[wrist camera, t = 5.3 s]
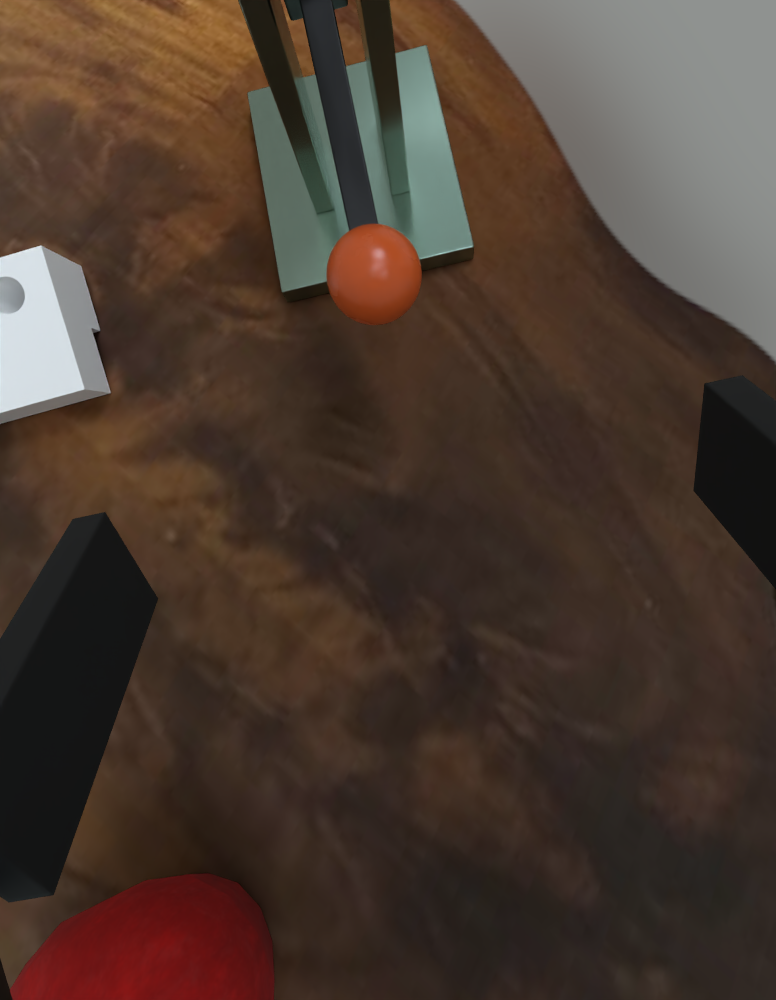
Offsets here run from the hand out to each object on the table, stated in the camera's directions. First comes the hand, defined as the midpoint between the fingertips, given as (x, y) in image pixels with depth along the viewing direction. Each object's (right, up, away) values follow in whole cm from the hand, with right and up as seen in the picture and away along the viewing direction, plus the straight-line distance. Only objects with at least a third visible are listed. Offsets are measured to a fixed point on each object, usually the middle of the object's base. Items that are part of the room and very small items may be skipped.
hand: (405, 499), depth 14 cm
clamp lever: (-2, +14, +10) cm, 17 cm away
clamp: (-2, +17, +19) cm, 26 cm away
